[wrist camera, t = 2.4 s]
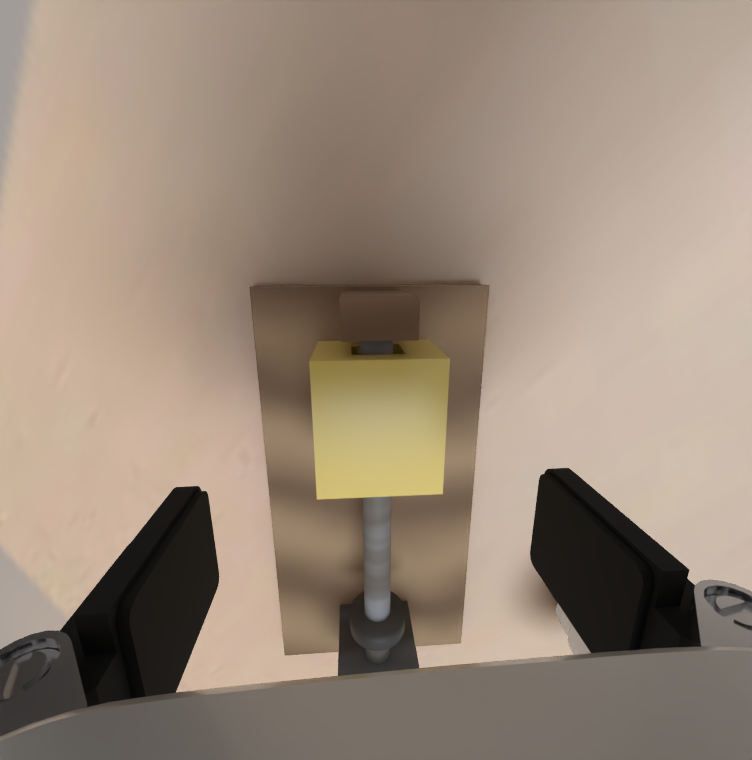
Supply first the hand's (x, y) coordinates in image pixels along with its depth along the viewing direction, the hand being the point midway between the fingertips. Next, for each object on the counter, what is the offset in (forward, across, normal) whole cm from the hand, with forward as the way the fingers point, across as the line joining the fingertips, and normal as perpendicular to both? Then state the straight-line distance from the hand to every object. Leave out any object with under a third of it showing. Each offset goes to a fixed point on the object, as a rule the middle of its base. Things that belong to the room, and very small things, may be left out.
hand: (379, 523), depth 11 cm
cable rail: (+12, -1, +6) cm, 13 cm away
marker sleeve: (+9, -1, -1) cm, 9 cm away
